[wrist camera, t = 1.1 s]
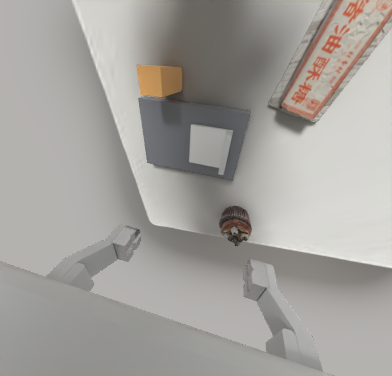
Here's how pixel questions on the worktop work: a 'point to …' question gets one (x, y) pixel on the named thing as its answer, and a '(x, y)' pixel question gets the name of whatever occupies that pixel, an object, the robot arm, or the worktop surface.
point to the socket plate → (188, 132)
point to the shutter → (210, 146)
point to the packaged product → (331, 55)
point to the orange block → (159, 80)
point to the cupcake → (235, 225)
